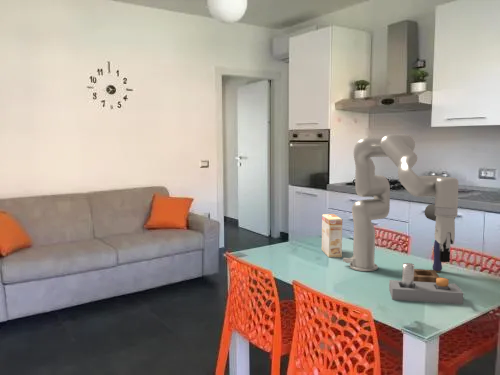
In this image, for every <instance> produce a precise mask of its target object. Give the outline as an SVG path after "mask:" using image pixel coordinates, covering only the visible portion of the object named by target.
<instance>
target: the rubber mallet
mask: <svg viewBox="0 0 500 375" xmlns="http://www.w3.org/2000/svg"><path fill="white" fill-rule="evenodd" d="M424 216H425V217H426V219H428V220H431V221H432V222H433V221H434V222H436V216H435V204H433V203H432V204H428V205H427V206H426V207H425V209H424ZM433 243H434V244H433V263H432V264H433V265H432V270H435V271H436V273H440V272H441V271H442V270H443V265H442V263H443V262H441V261H440V260H439V254H440V244H439V243H438V242H437V241H436V240H435V239H434V242H433Z"/></svg>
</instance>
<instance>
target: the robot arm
mask: <svg viewBox="0 0 500 375" xmlns="http://www.w3.org/2000/svg"><path fill="white" fill-rule="evenodd" d="M415 148H416V141H415V139H414V138H413V137H412V136H411V135H410V134H408V133H407V134H406V133H389V134H386V135H385V136H383V137H366V138H364V137H363V138H362V139H359V140H357V142H356V143H355V145H354V147H353V158H354V159H353V160H354V166H355V174H354V177H355V179H354V180H355V184H354V185H355V193H356V195H357V196H358V197H362V198H368V197H369V199H360V200H357V201H355V202H354V203H353V204H352V206H351V213H352V215H351V216H352V219H353V244H352V245H353V248H352V249H353V252H352V256H350V257H343V258H342V261H343V263H347V264H349V268H350V269H352V270H355V271H358V272H359V271H360V272H374V271H376V270H378V265H377V264H376V263H375V250H376V248H375V247H376V245H375V244H376V228H375V226H374V224H373V222H372V221H376V220H383V219H386V218H387V217H388V216H389V214H390V208H391V207H390V206H391V205H390V203H391V202H390V201H391V195H390V193H391V187H390V186H391V184H390V181H389V180H388V178H387V177H386V176H384V175H381V174H377V175H376V172H375V171H376V166H375V164H374V161H373V160H372V158H380V157H381V158H382V157H383V158H385V157H388V158H389V160H391V162H392V163H393V164H394V165H395V166H396V167H397V174H398V175H397V177H398V180H399V182H400V184H401V185H402V186H403V188H404V189H405V190H406V191H407V192H408V193H409V194H411V195H412V196H413V197H416V198H417V197H430V196H434V205H435V216H436V221H435V226H434V227H435V228H434V241H435V240H436V241H437V242H438V243H439V244H440V254H439V260H440V261H441V263H450V260H451V245H454V244H455V238H456V237H455V236H456V231H455V230H456V224H455V223H456V220H455V219H456V218H457V217H458V210H459V208H458V206H459V204H458V202H459V180H458V178H455V177H450V176H449V177H444V176H440V175H418V174H417V173H415V171H414V170H413V169H412V168H413V167H415V165H416V164H417V162H418V154H416V152H414V150H415ZM370 197H373V198H370Z"/></svg>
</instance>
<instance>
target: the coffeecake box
mask: <svg viewBox="0 0 500 375" xmlns="http://www.w3.org/2000/svg"><path fill="white" fill-rule="evenodd" d="M342 248H343V219H342V218H341V217H339V216H338V215H336V214H334V213H331V214H330V213H326V214H324V213H323V214H322V215H321V251H322V252H323V253H324V254H325V255H326V256H327V257H328V258H342V257H343V256H342V255H343V253H342V252H343V251H342V250H343V249H342Z"/></svg>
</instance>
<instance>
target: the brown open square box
mask: <svg viewBox="0 0 500 375" xmlns="http://www.w3.org/2000/svg"><path fill="white" fill-rule="evenodd" d="M436 278H441V277H440V276H439V274H438V272H436V271H435V270H433V269H423V268H422V269H421V268H414V281H416V282H434V283H436Z"/></svg>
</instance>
